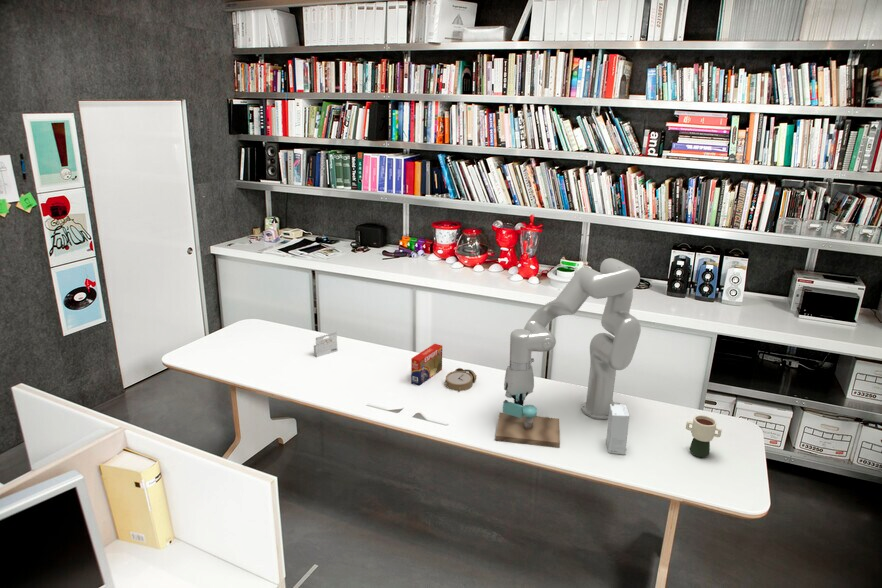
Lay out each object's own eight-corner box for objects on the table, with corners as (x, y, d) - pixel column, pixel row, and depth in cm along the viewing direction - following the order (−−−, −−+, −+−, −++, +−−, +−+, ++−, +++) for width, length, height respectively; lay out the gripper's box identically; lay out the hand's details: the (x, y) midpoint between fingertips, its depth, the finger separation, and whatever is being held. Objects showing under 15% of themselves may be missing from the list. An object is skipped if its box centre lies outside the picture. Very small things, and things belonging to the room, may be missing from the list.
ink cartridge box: (313, 355, 270) (312, 336, 267) (335, 349, 277) (334, 330, 273) (316, 357, 268) (315, 337, 265) (337, 351, 275) (337, 331, 272)
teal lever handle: (538, 418, 212) (539, 406, 211) (533, 424, 208) (534, 412, 206) (506, 409, 218) (506, 397, 216) (500, 415, 214) (501, 403, 212)
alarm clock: (440, 380, 243) (458, 361, 254) (441, 390, 245) (459, 371, 256) (463, 387, 237) (481, 368, 248) (464, 397, 240) (482, 378, 251)
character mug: (716, 452, 203) (723, 419, 198) (715, 463, 197) (722, 429, 192) (682, 443, 207) (688, 411, 203) (680, 454, 201) (686, 421, 197)
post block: (558, 423, 219) (560, 406, 216) (559, 447, 204) (561, 430, 201) (499, 417, 222) (500, 400, 220) (495, 440, 207) (496, 423, 205)
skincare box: (625, 455, 200) (631, 416, 195) (607, 453, 201) (612, 415, 196) (622, 441, 208) (627, 404, 203) (604, 439, 209) (609, 402, 204)
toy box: (419, 386, 244) (419, 360, 240) (411, 383, 246) (411, 358, 242) (442, 369, 259) (442, 345, 255) (434, 367, 261) (434, 343, 257)
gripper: (533, 355, 215) (531, 400, 221) (496, 362, 210) (495, 407, 217) (544, 364, 209) (541, 410, 215) (505, 371, 204) (504, 418, 210)
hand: (518, 408), depth 216 cm, fingers closed
